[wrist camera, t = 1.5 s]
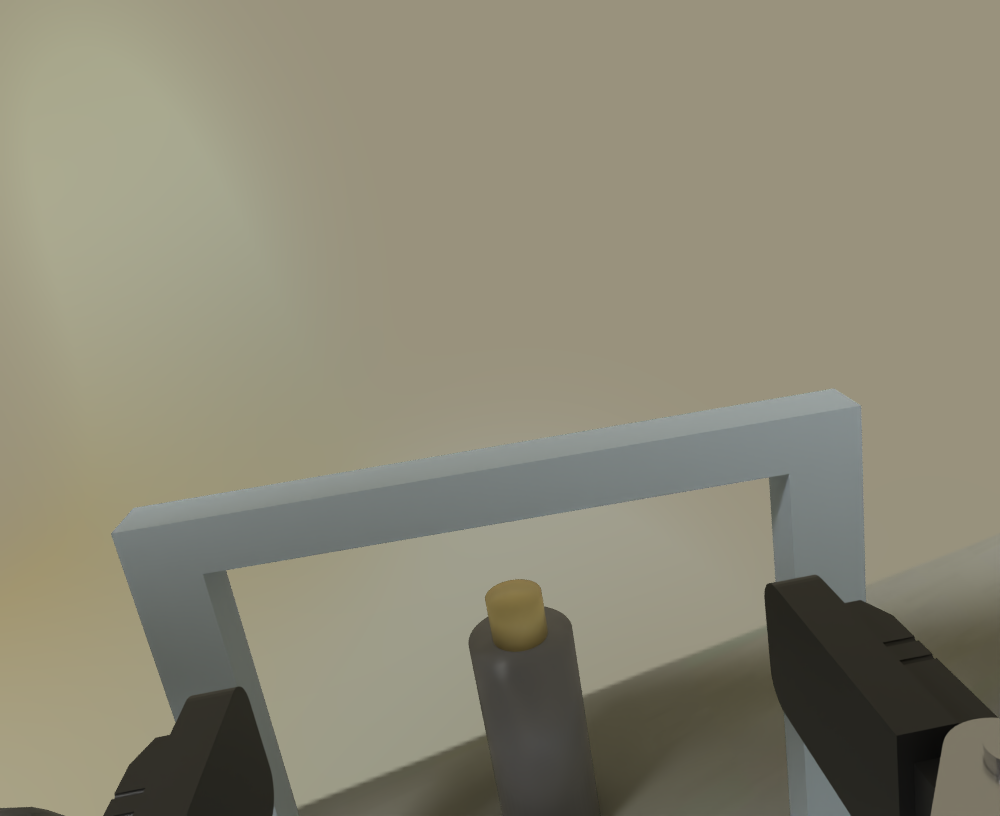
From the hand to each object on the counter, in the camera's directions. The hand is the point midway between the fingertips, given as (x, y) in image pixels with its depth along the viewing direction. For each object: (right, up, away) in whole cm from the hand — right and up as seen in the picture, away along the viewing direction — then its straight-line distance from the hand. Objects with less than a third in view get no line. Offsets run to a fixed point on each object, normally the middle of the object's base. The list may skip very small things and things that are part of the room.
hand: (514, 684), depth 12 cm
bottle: (+2, -15, +26) cm, 30 cm away
